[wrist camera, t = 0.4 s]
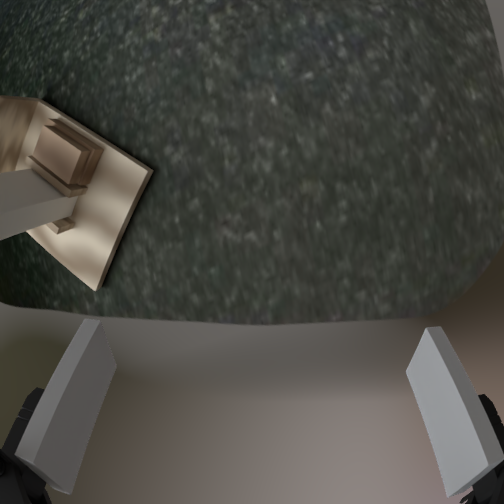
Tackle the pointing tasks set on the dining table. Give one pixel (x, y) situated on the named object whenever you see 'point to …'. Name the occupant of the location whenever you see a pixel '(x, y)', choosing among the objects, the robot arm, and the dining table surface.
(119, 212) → the maple rack
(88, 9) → the dining table surface
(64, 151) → the walnut offcuts
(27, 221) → the white block
